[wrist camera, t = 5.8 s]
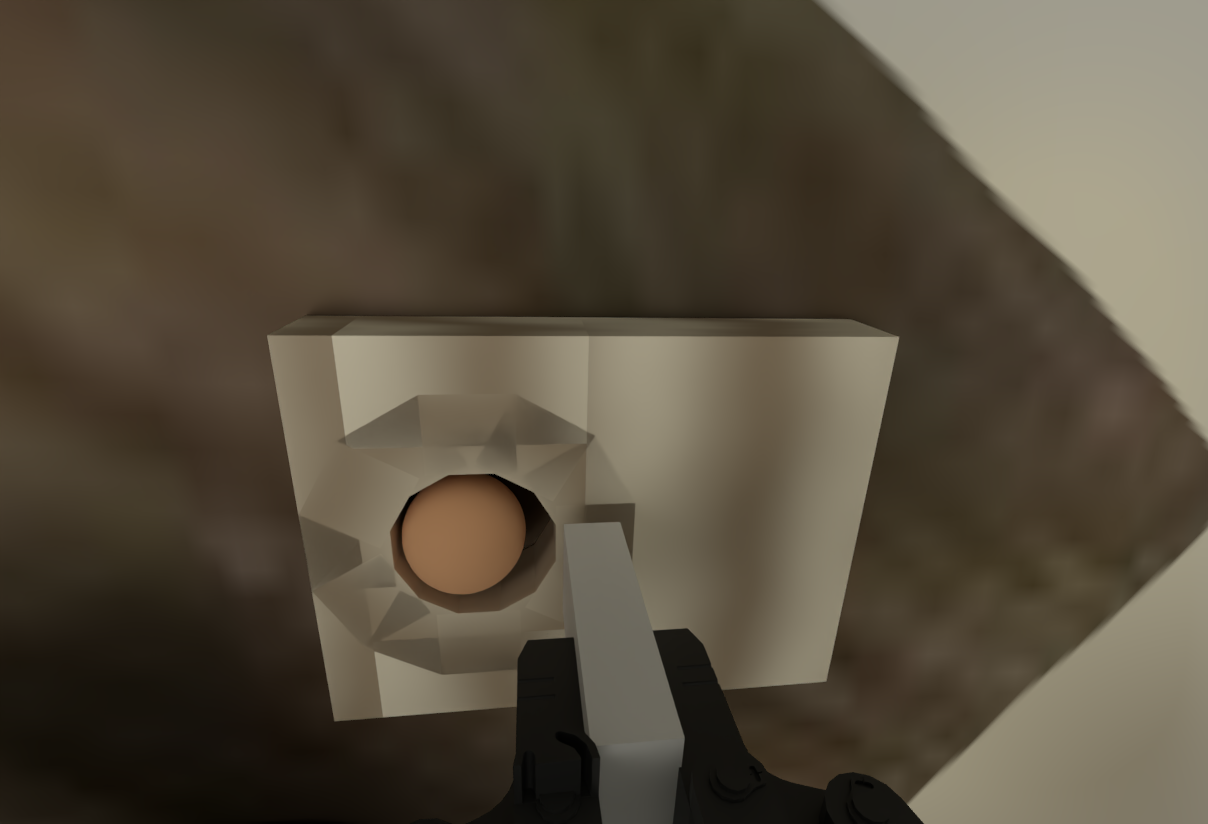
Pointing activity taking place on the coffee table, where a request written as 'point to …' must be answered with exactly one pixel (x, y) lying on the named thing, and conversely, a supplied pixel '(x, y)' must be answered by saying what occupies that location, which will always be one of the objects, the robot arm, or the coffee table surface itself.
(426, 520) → the ball
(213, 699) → the coffee table surface
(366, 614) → the block
